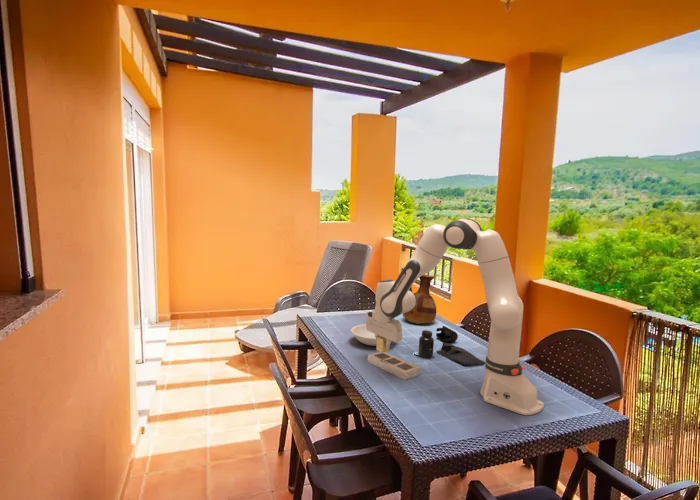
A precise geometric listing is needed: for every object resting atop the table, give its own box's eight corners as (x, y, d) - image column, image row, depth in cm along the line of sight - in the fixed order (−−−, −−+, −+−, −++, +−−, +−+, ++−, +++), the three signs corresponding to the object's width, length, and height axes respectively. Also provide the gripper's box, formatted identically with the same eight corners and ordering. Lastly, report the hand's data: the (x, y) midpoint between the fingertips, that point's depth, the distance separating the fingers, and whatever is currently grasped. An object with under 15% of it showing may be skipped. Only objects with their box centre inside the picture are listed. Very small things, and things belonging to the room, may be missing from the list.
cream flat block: (420, 374, 172) (420, 367, 171) (404, 379, 166) (404, 372, 165) (383, 357, 190) (383, 351, 189) (367, 361, 184) (367, 355, 183)
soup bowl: (344, 348, 200) (345, 335, 199) (355, 333, 223) (356, 321, 222) (393, 354, 194) (394, 341, 193) (399, 338, 217) (400, 326, 217)
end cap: (457, 343, 214) (458, 331, 213) (445, 344, 211) (446, 332, 210) (446, 337, 223) (447, 325, 222) (435, 338, 220) (436, 326, 220)
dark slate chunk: (461, 369, 180) (462, 359, 180) (433, 352, 201) (434, 342, 200) (489, 365, 186) (489, 355, 186) (459, 349, 206) (459, 340, 206)
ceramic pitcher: (441, 326, 244) (444, 276, 240) (410, 327, 238) (413, 277, 235) (426, 317, 263) (429, 271, 259) (397, 318, 257) (400, 271, 254)
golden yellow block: (389, 350, 182) (389, 337, 182) (382, 352, 180) (383, 339, 179) (382, 348, 185) (383, 335, 185) (376, 349, 183) (377, 336, 182)
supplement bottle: (432, 359, 189) (434, 334, 188) (417, 358, 191) (419, 333, 189) (432, 354, 196) (434, 330, 195) (418, 352, 197) (419, 328, 196)
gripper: (406, 320, 175) (404, 351, 176) (374, 309, 190) (373, 338, 192) (396, 322, 171) (394, 354, 172) (364, 311, 187) (362, 340, 188)
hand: (382, 345), depth 182 cm, fingers closed on golden yellow block, 4 cm apart
